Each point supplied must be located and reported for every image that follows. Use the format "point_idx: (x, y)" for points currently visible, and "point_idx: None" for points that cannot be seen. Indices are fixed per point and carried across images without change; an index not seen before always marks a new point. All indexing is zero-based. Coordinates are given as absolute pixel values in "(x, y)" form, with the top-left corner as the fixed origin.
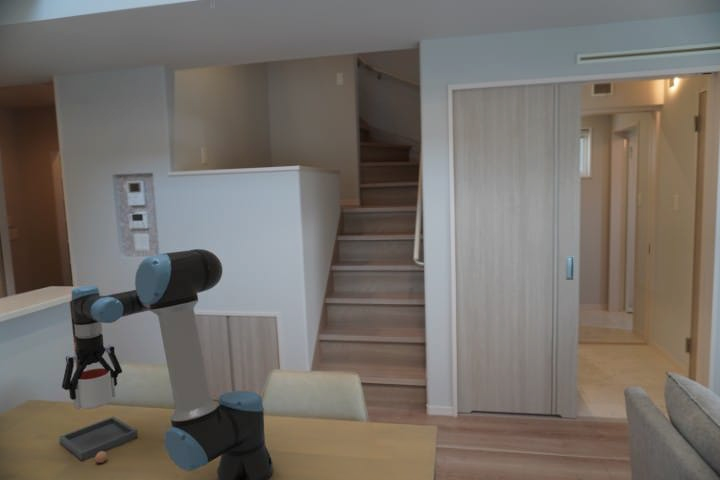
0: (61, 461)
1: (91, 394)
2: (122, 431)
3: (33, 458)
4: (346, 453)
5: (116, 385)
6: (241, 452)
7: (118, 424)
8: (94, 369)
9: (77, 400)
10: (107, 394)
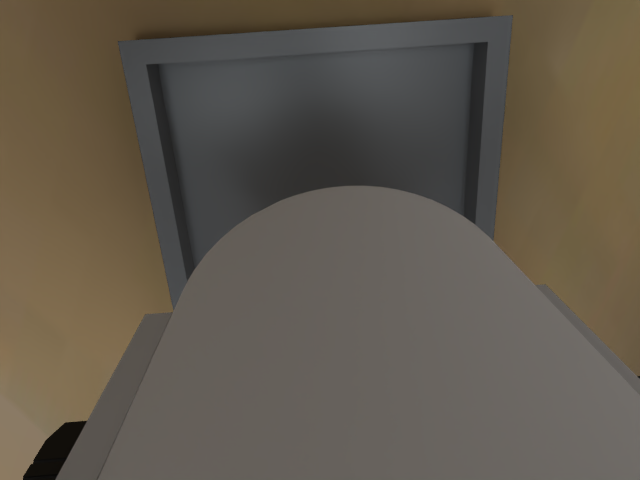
0: (554, 119)
1: (503, 274)
2: (190, 185)
3: (611, 268)
4: None
5: (66, 423)
6: None
7: (188, 265)
8: None
9: (599, 344)
10: (250, 246)
